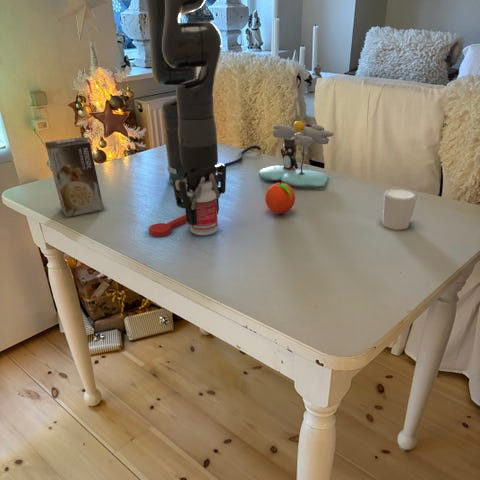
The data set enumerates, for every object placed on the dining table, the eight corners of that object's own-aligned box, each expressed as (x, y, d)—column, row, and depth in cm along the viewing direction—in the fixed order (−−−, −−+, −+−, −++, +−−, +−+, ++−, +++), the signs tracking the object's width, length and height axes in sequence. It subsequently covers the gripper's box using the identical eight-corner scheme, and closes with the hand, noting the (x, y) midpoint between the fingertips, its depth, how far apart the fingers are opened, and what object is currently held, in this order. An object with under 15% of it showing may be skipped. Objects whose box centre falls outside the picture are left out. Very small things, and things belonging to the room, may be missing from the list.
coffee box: (97, 201, 123) (85, 135, 114) (104, 210, 119) (91, 142, 109) (60, 209, 120) (44, 141, 111) (65, 218, 115) (49, 148, 106)
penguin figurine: (252, 179, 134) (252, 121, 126) (274, 169, 141) (275, 113, 133) (315, 194, 124) (320, 132, 116) (336, 182, 131) (341, 123, 123)
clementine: (303, 215, 114) (304, 185, 110) (278, 222, 111) (279, 191, 107) (283, 204, 119) (284, 175, 115) (259, 210, 116) (259, 181, 112)
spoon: (197, 209, 118) (197, 204, 117) (212, 214, 115) (212, 209, 115) (144, 233, 107) (144, 228, 107) (159, 239, 105) (159, 233, 104)
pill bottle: (223, 231, 107) (221, 182, 101) (198, 238, 104) (194, 188, 98) (208, 222, 111) (205, 174, 105) (185, 229, 109) (180, 180, 102)
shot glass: (412, 220, 110) (418, 189, 106) (410, 232, 105) (416, 201, 101) (381, 216, 112) (385, 186, 108) (378, 228, 107) (382, 197, 103)
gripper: (186, 151, 90) (192, 235, 100) (235, 135, 99) (237, 213, 109) (158, 145, 94) (167, 226, 104) (208, 129, 103) (212, 205, 113)
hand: (203, 219), depth 106 cm, fingers closed on pill bottle, 6 cm apart
